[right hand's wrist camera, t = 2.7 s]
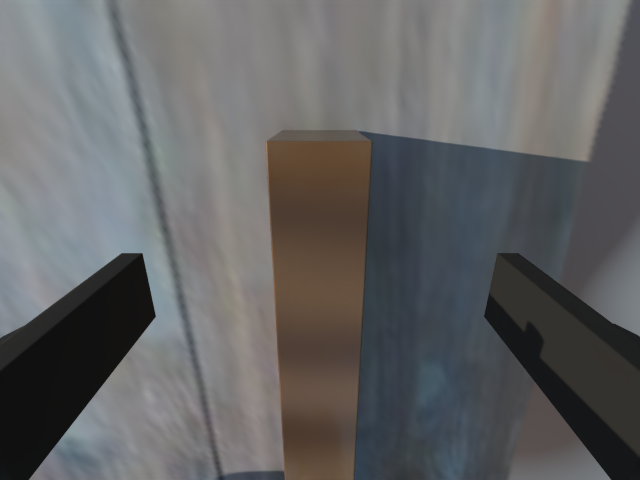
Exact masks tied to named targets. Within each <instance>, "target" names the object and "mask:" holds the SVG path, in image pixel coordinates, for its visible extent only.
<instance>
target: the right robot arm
mask: <svg viewBox="0 0 640 480" xmlns="http://www.w3.org/2000/svg"><path fill="white" fill-rule="evenodd" d="M155 317H156V315H155V311H154V306H153V301H152V296H151V292H150V287H149V282H148V277H147V273H146V268H145V263H144V259H143V254H142V253H122V254H120V255H119V256H117V257H116V258H115V259H113V260H112V261H111V262H109V263H108V264H107V265H105V266H104V267H103V268H101V269H100V270H99V271H97V272H96V273H95V274H93V275H92V276H91V277H89V278H88V279H87V280H85V281H84V282H83V283H81V284H80V285H79V286H77V287H76V288H75V289H73V290H72V291H71V292H69V293H68V294H66V295H65V296H64V297H62V298H61V299H60V300H58V301H57V302H56V303H54V304H53V305H52V306H50V307H49V308H48V309H46V310H45V311H44V312H42V313H41V314H40V315H38V316H37V317H36V318H34V319H33V320H32V321H30V322H29V323H28V324H26V325H25V326H23V327H21V328H19V329H17V330H15V331H13V332H11V333H9V334H7V335H5V336H3V337H2V338H0V480H29V479H30V477H31V476H32V475H33V473H34V472H35V471H36V470H37V468H38V467H39V466H40V465H41V463H42V462H43V461H44V459H45V458H46V457H47V456H48V454H49V453H50V452H51V450H52V449H53V448H54V447H55V445H56V444H57V443H58V441H59V440H60V439H61V438H62V436H63V435H64V434H65V432H66V431H67V430H68V429H69V427H70V426H71V425H72V423H73V422H74V421H75V420H76V418H77V417H78V416H79V414H80V413H81V412H82V411H83V409H84V408H85V407H86V405H87V404H88V403H89V402H90V400H91V399H92V398H93V396H94V395H95V394H96V393H97V391H98V390H99V389H100V387H101V386H102V385H103V384H104V382H105V381H106V380H107V378H108V377H109V376H110V375H111V373H112V372H113V371H114V369H115V368H116V367H117V366H118V364H119V363H120V362H121V361H122V359H123V358H124V357H125V355H126V354H127V353H128V352H129V350H130V349H131V348H132V346H133V345H134V344H135V343H136V341H137V340H138V339H139V337H140V336H141V335H142V334H143V332H144V331H145V330H146V328H147V327H148V326H149V325H150V323H151V322H152V321H153V319H154V318H155ZM484 317H485V318H486V319H487V321H488V322H489V323H490V325H491V326H492V327H493V328H494V330H495V331H496V332H497V334H498V335H499V336H500V337H501V339H502V340H503V341H504V343H505V344H506V345H507V346H508V348H509V349H510V350H511V352H512V353H513V354H514V355H515V357H516V358H517V359H518V361H519V362H520V363H521V364H522V366H523V367H524V368H525V369H526V371H527V372H528V373H529V375H530V376H531V377H532V378H533V380H534V381H535V382H536V384H537V385H538V386H539V387H540V389H541V390H542V391H543V393H544V394H545V395H546V396H547V398H548V399H549V400H550V402H551V403H552V404H553V405H554V407H555V408H556V409H557V411H558V412H559V413H560V414H561V416H562V417H563V418H564V420H565V421H566V422H567V423H568V425H569V426H570V427H571V429H572V430H573V431H574V432H575V434H576V435H577V436H578V437H579V439H580V440H581V441H582V443H583V444H584V445H585V447H586V448H587V449H588V450H589V452H590V453H591V454H592V456H593V457H594V458H595V459H596V461H597V462H598V463H599V465H600V466H601V467H602V468H603V470H604V471H605V472H606V474H607V475H608V476H609V477H610V479H611V480H640V337H639V336H638V335H636V334H634V333H632V332H630V331H628V330H626V329H624V328H622V327H620V326H618V325H616V324H612V323H611V322H610V321H608V320H607V319H606V318H604V317H603V316H602V315H600V314H599V313H598V312H596V311H595V310H594V309H592V308H591V307H590V306H588V305H587V304H586V303H584V302H583V301H582V300H580V299H579V298H578V297H576V296H575V295H573V294H572V293H571V292H569V291H568V290H567V289H565V288H564V287H563V286H561V285H560V284H559V283H557V282H556V281H555V280H553V279H552V278H551V277H549V276H548V275H547V274H545V273H544V272H543V271H541V270H540V269H539V268H537V267H536V266H535V265H533V264H532V263H531V262H529V261H528V260H527V259H525V258H524V257H523V256H521V255H520V254H518V253H498V254H497V259H496V263H495V268H494V273H493V277H492V282H491V287H490V292H489V296H488V301H487V306H486V311H485V315H484Z"/></svg>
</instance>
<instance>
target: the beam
mask: <svg viewBox="0 0 640 480" xmlns="http://www.w3.org/2000/svg"><path fill="white" fill-rule="evenodd" d="M266 157H267V175H268V192H269V210H270V227H271V245H272V262H273V280H274V297H275V314H276V332H277V349H278V367H279V384H280V402H281V419H282V437H283V454H284V472H285V480H354V469H355V450H356V432H357V414H358V396H359V378H360V360H361V342H362V324H363V305H364V287H365V269H366V251H367V233H368V215H369V197H370V179H371V161H372V141H371V140H369V139H368V138H366V137H365V136H363V135H362V134H361V133H359V132H358V131H281V132H280V133H278V134H277V135H275V136H273V137H272V138H270V139H269V140H267V141H266Z"/></svg>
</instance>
